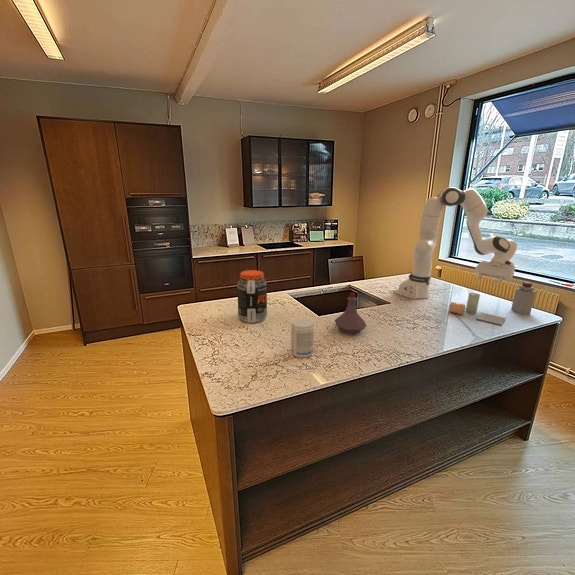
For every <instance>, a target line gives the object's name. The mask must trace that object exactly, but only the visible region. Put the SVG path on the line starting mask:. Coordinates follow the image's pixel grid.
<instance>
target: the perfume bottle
mask: <svg viewBox="0 0 575 575" xmlns="http://www.w3.org/2000/svg"><path fill="white" fill-rule="evenodd" d="M518 287H519V288H518ZM518 287H516V288H515V291H514V296H513V299H512V302H511V303H512V304H511V308H510V309H511V310H512V311H513V312H515V313H517V314H519V315H520V314H521V315H522V314H523V315H525V314H527V315H530V314H531V311H532V308H533V305H534V301H535V297H536V293H537V292H536V291H535V287H533V283H532V282H530V281H522V284H518Z"/></svg>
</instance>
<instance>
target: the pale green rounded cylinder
mask: <svg viewBox="0 0 575 575" xmlns="http://www.w3.org/2000/svg"><path fill="white" fill-rule="evenodd" d="M480 297H481V295H480V293H476V292H468V297H467V302H466V305H465V312H466V313H467V314H471V313H472V314H471V315H473V314H475V313H476V314H477V312H478V307H479V301H480Z"/></svg>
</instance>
